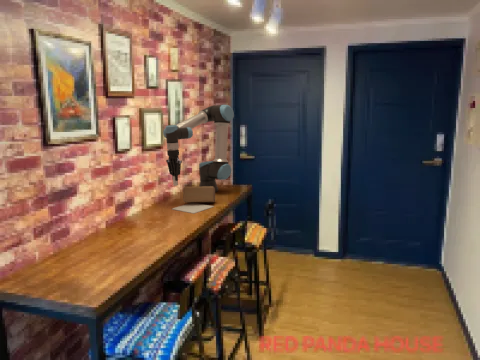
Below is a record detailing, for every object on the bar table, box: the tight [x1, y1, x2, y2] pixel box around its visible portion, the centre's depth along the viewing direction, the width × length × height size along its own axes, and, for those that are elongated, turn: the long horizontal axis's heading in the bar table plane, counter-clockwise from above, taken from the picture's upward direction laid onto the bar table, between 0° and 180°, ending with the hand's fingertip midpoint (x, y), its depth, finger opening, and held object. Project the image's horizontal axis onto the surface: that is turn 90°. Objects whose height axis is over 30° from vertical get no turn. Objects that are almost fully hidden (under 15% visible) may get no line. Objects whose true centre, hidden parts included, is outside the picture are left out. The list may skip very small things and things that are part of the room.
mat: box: [171, 203, 215, 215], centre depth 236 cm, size 18×20×1 cm
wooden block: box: [182, 186, 216, 204], centre depth 245 cm, size 10×10×20 cm
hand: (175, 185), depth 242 cm, fingers closed
